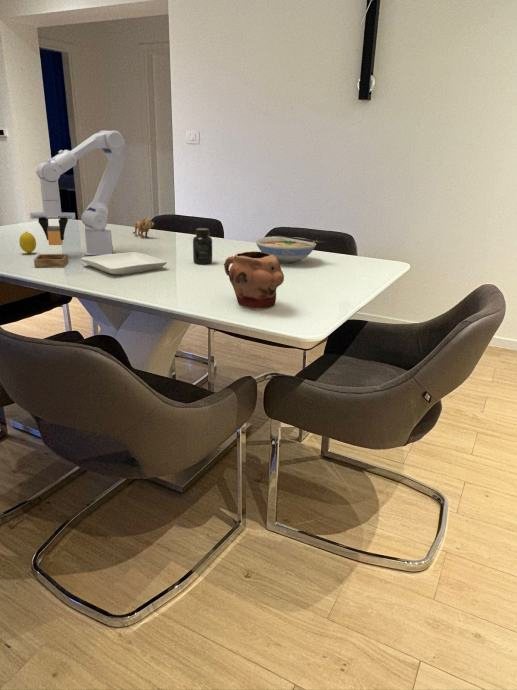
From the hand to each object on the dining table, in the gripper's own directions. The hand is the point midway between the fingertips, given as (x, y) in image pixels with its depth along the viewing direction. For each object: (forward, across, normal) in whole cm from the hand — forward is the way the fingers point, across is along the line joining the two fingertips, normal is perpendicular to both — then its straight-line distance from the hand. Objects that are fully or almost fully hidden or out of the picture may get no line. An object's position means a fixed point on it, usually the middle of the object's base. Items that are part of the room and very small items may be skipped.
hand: (55, 239), depth 181 cm
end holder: (+6, 0, +11) cm, 13 cm away
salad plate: (+7, -24, +17) cm, 30 cm away
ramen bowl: (+7, -82, +8) cm, 83 cm away
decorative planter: (+7, -59, +62) cm, 86 cm away
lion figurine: (+7, -30, -44) cm, 53 cm away
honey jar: (+2, 0, 0) cm, 2 cm away
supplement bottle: (+7, -51, +10) cm, 52 cm away
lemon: (+6, +11, -7) cm, 14 cm away
